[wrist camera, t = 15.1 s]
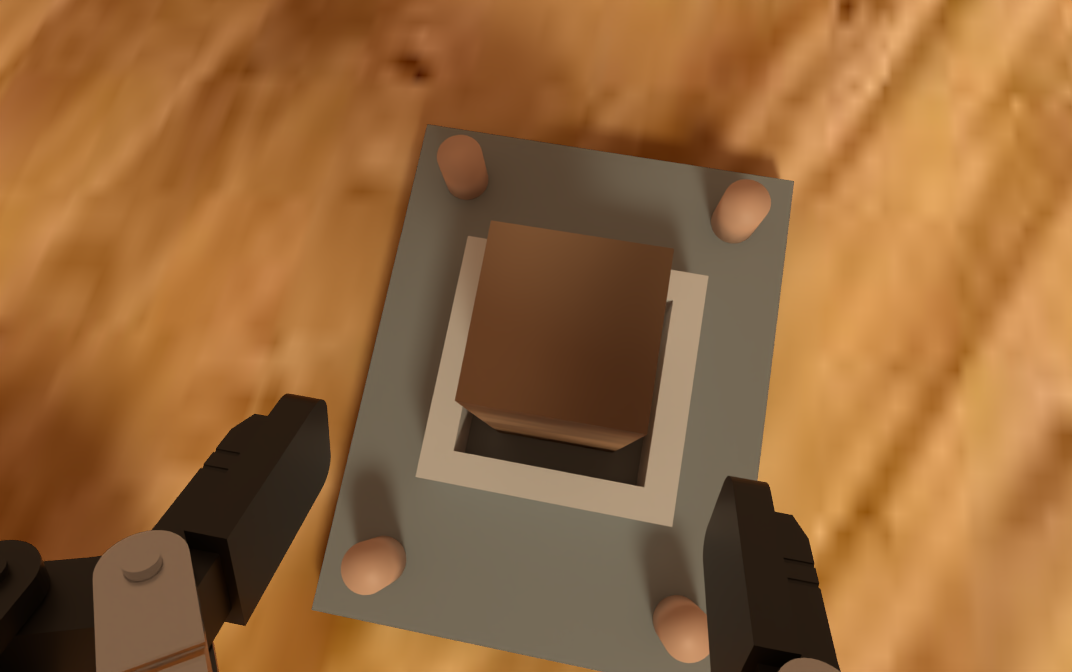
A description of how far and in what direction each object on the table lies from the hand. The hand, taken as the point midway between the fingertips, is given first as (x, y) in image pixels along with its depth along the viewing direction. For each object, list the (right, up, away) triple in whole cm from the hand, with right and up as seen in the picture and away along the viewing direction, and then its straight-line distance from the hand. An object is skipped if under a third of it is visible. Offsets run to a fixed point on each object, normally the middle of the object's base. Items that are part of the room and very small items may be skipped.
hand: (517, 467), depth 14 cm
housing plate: (+1, +1, +12) cm, 12 cm away
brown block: (+1, +1, +11) cm, 11 cm away
